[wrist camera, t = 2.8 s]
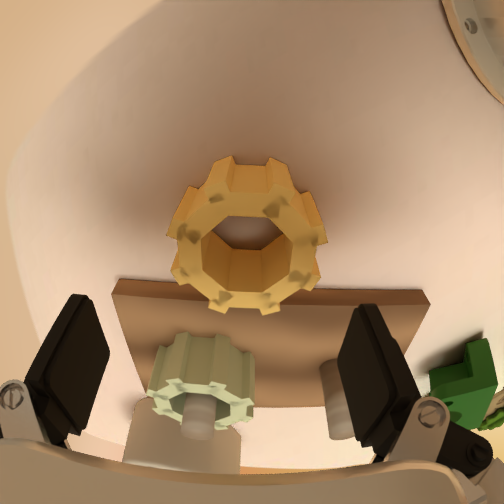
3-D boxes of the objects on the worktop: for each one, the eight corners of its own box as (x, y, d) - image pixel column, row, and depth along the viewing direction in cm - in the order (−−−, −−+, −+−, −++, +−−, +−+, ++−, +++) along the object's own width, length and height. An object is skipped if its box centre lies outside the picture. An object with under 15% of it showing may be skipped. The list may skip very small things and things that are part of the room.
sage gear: (150, 328, 19) (136, 373, 16) (257, 335, 19) (257, 383, 16) (166, 385, 22) (158, 423, 19) (251, 391, 22) (251, 431, 19)
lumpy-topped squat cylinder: (178, 448, 34) (170, 505, 27) (112, 400, 28) (92, 470, 20) (251, 441, 32) (250, 507, 25) (193, 390, 25) (181, 479, 18)
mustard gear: (181, 154, 14) (161, 179, 11) (320, 161, 14) (338, 187, 11) (187, 268, 18) (175, 310, 15) (303, 273, 18) (311, 316, 15)
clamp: (424, 329, 28) (432, 385, 20) (476, 316, 25) (499, 367, 17) (429, 411, 29) (430, 467, 21) (473, 400, 27) (484, 456, 19)
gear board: (119, 278, 19) (77, 365, 13) (422, 289, 19) (464, 369, 13) (151, 384, 25) (135, 452, 19) (371, 389, 25) (386, 454, 19)
